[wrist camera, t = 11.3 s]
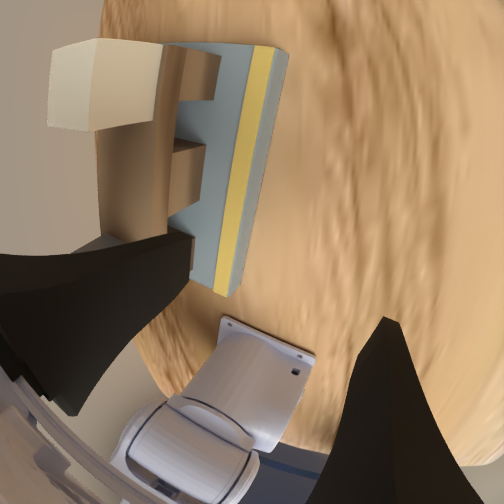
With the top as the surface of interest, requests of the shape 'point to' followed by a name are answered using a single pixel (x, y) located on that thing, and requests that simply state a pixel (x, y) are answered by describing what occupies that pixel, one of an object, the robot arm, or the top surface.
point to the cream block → (103, 84)
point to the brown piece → (155, 154)
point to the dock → (229, 157)
